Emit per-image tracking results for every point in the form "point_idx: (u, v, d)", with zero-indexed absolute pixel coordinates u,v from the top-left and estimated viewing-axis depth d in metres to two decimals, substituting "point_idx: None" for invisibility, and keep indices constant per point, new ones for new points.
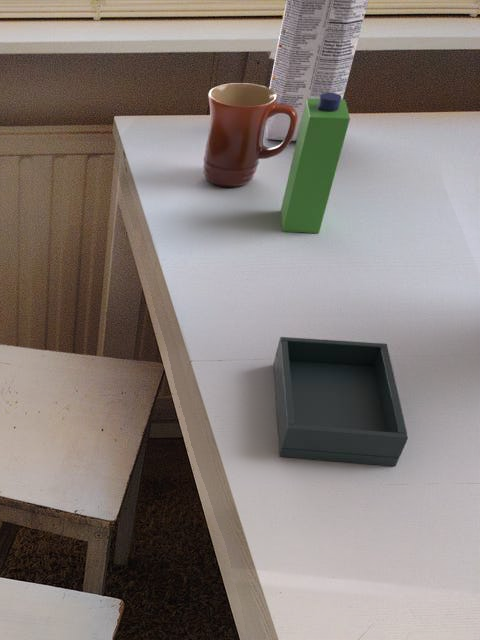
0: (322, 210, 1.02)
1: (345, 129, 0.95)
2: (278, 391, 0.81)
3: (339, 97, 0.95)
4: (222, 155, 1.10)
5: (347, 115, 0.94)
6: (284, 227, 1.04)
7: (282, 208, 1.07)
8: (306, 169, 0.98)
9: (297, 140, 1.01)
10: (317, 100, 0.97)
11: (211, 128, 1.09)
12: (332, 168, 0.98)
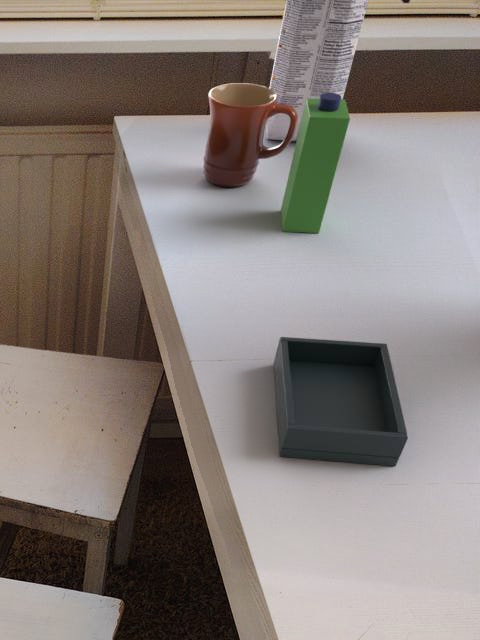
0: (322, 210, 1.02)
1: (345, 129, 0.95)
2: (278, 391, 0.81)
3: (339, 97, 0.95)
4: (222, 155, 1.10)
5: (347, 115, 0.94)
6: (284, 227, 1.04)
7: (282, 208, 1.07)
8: (306, 169, 0.98)
9: (297, 140, 1.01)
10: (317, 100, 0.97)
11: (211, 128, 1.09)
12: (332, 168, 0.98)
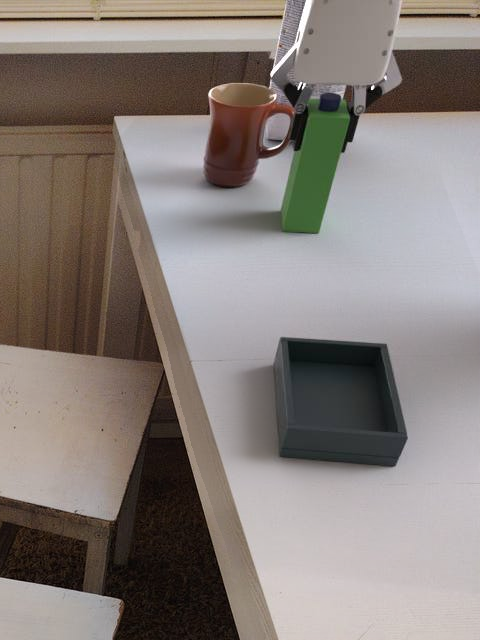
0: (322, 210, 1.02)
1: (345, 129, 0.95)
2: (278, 391, 0.81)
3: (339, 97, 0.95)
4: (222, 155, 1.10)
5: (347, 115, 0.94)
6: (284, 227, 1.04)
7: (282, 208, 1.07)
8: (306, 169, 0.98)
9: None
10: (317, 100, 0.97)
11: (211, 128, 1.09)
12: (332, 168, 0.98)
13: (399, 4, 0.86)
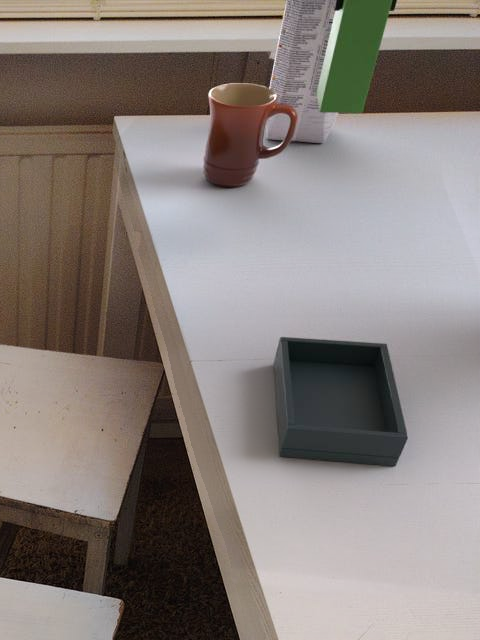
0: (366, 83, 0.88)
1: None
2: (278, 391, 0.81)
3: None
4: (222, 155, 1.10)
5: None
6: (321, 107, 0.90)
7: (319, 89, 0.93)
8: (349, 30, 0.85)
9: None
10: None
11: (211, 128, 1.09)
12: (379, 29, 0.84)
13: None
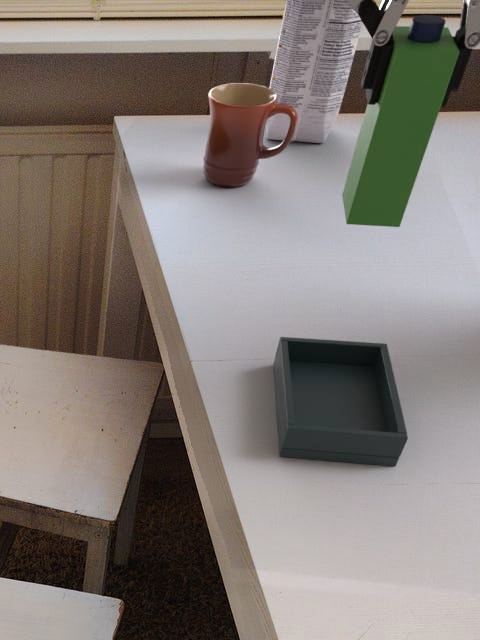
0: (407, 193, 0.70)
1: (451, 69, 0.63)
2: (278, 391, 0.81)
3: (442, 20, 0.63)
4: (222, 155, 1.10)
5: (455, 47, 0.62)
6: (349, 218, 0.72)
7: (345, 191, 0.75)
8: (387, 131, 0.66)
9: None
10: (406, 28, 0.65)
11: (211, 128, 1.09)
12: (426, 130, 0.66)
13: None
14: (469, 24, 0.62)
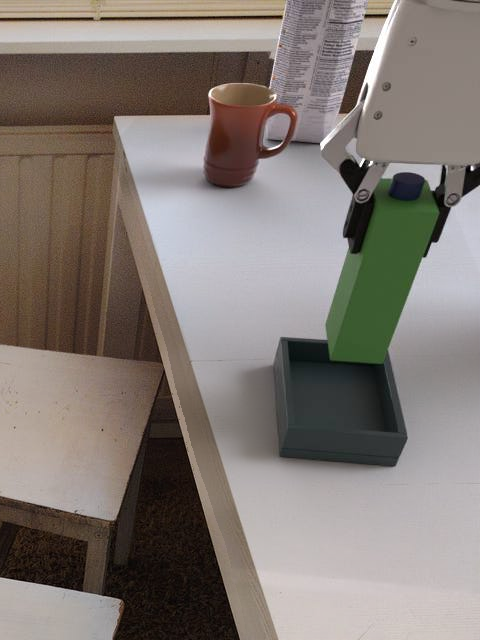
0: (389, 335, 0.70)
1: (431, 228, 0.63)
2: (278, 391, 0.81)
3: (422, 180, 0.63)
4: (222, 155, 1.10)
5: (434, 207, 0.63)
6: (333, 355, 0.73)
7: (328, 324, 0.75)
8: (369, 280, 0.67)
9: None
10: (386, 181, 0.66)
11: (211, 128, 1.09)
12: (407, 280, 0.67)
13: None
14: (448, 186, 0.62)
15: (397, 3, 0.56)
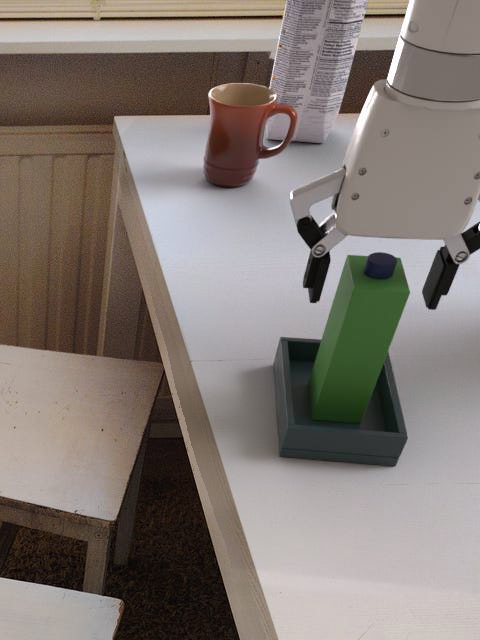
0: (366, 398, 0.75)
1: (403, 305, 0.68)
2: (278, 391, 0.81)
3: (394, 261, 0.68)
4: (222, 155, 1.10)
5: (406, 286, 0.68)
6: (314, 415, 0.78)
7: (310, 384, 0.80)
8: (346, 349, 0.72)
9: (333, 305, 0.75)
10: (362, 258, 0.71)
11: (211, 128, 1.09)
12: (382, 350, 0.72)
13: None
14: (451, 249, 0.66)
15: (371, 96, 0.60)
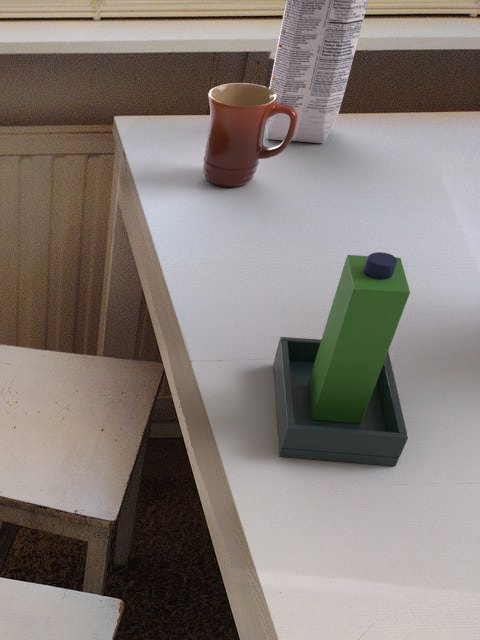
0: (366, 398, 0.75)
1: (403, 305, 0.68)
2: (278, 391, 0.81)
3: (394, 261, 0.68)
4: (222, 155, 1.10)
5: (406, 286, 0.68)
6: (314, 415, 0.78)
7: (310, 384, 0.80)
8: (346, 349, 0.72)
9: (333, 305, 0.75)
10: (362, 258, 0.71)
11: (211, 128, 1.09)
12: (382, 350, 0.72)
13: None
14: None
15: None
